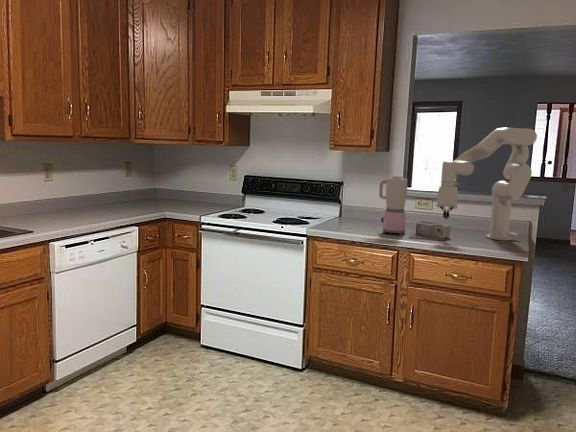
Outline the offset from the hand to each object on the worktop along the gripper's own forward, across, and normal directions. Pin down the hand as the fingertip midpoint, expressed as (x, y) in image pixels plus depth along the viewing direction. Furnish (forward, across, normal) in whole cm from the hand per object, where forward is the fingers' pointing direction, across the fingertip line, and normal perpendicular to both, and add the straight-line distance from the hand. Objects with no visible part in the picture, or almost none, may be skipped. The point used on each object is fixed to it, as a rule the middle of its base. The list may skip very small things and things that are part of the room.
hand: (445, 218), depth 262 cm
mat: (+11, +9, 0) cm, 14 cm away
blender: (+11, +29, -3) cm, 31 cm away
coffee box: (+7, -1, 0) cm, 7 cm away
